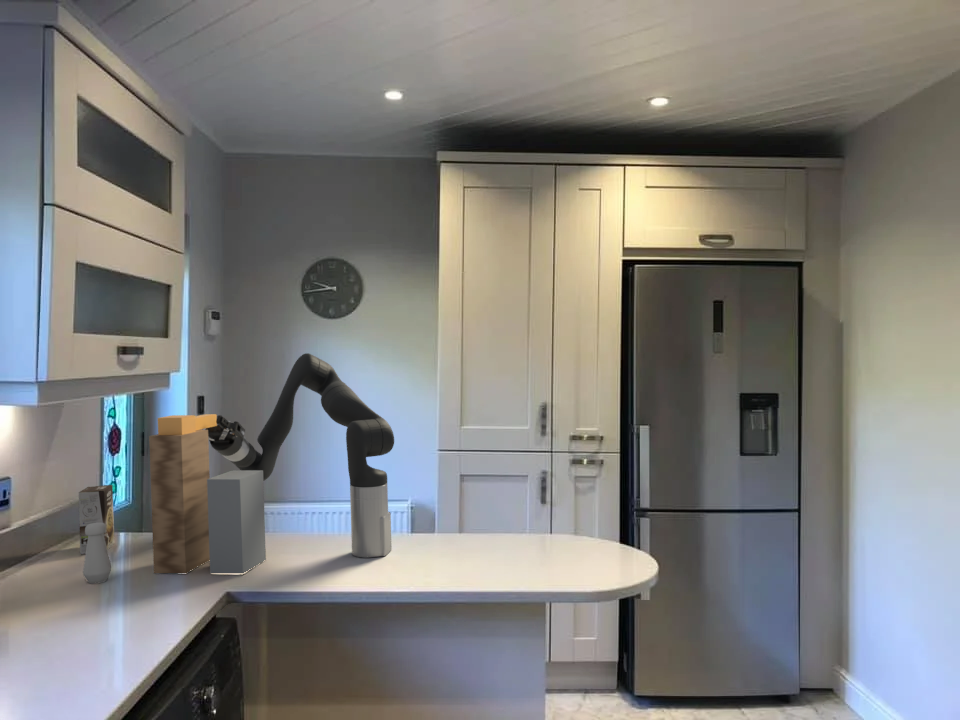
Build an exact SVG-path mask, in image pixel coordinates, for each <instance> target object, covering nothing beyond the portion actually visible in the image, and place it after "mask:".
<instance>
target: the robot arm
mask: <svg viewBox="0 0 960 720" xmlns="http://www.w3.org/2000/svg"><path fill="white" fill-rule="evenodd" d="M300 386H303V387H305V388H306V389H309V390H311V391H313V392H314V393H317V394H319V395H320V396H321V397H320V404H321V407H322V409H323V410H324V412H325V413H326V414H327V415H328V417H329V418H330V419H331V420H333V421H334V422H335V423H336V424H338V425H341V426H343V427H346V433H345V436H346V437H345V442H346V454H347V468H348V469H347V470H348V476H349V477H348V478H349V493H350V496H349V498H350V528H351V529H350V530H351V536H350V537H351V538H350V539H351V554H352V556H354V557H358V558H376V557H386V556H387V555H388V554H389V553H390V552H391V551H392V549H393V548H392V519H391V518H392V515H391V512H389V501H388V499H389V498H388V494H389V491H388V489H389V488H388V474H387V472H386V471H384V470H381V469H379V468H374V467H372V466H370V465H368V460H367V458H370V457H371V458H372V457H379V456H384V455H386V454H388V453H390V452H391V451H392V450H393V448H394V445H395V435H394V434H395V433H394V432H393V429H392V426H391V424H389V423H388V421H387V420H386V419H385V418H384V417H382V416H381V415H379V414H378V413H376V412H375V411H374V410H372V409H371V408H370V407H369V406H368V405H367V404H366V403H365V402H364V401H363V400H362V399H361V398H360V397H359V395H358V394H356V393H355V391H354V390H353V389H352V388H350V387H349V385H347V383H345V382H344V381H342V380H341V378H340V377H339V375H338V373H337V372H336V371H335V369H334V368H333V366H332V365H331V364H329V363H328V362H326V361H324V360H323V359H320V358H319V357H317V356H315V355H314V354H311V353H307V352H306V353H303V354H302V355H300V356H299V357H298V359H296V361H295V362H294V364H293V366H292V368H291V370H290V372H289V375H288V376H287V378H286V381H285V384H284V385H283V387H282V390H281V393H280V395H279V397H278V400H277V402H276V404H275V407H274V409H273V411H272V413H271V414H270V416H269V418H268V420H267V421H266V423H265V425H264V427H263V428H262V429H261V431H260V433H259V434H258V436H257V439H256V440H257V442H258V445H259V446H260V447H261V450H262V453H260V452H259V451H257V450H256V449H255V447H254V446H253V445H252V444H251V443H250V441H248V440H247V438H246V436H245V433H246V428H244V427H243V426H242V424H240V422H238V421H233V422H232V421H231V420H228V419H227V418H225V417H224V416H223V415H221V414H220V415H218V414H217V420H216V423H217V426H214V427H209V428H205V429H200V430H208V442H209V444H210V446H211V448H212V449H214V450H215V451H216V452H217V453H219V455H220V456H222V457H224V459H227V460H229V461H230V462H231V463H232V464H234V465H235V467H236V468H238V469H239V470H263V482H264V481H267V479H268V478H270V476H272V473H273V471H274V468H275V466H276V462H277V458H278V457H279V456H278V455H279V452H280V449H281V447H282V445H283V443H284V441H285V440H286V439H287V436H288V435H289V434H290V431H291V430H292V427H293V423H294V406H295V405H294V404H295V398H296V394H297V392H298V390H299V388H300Z"/></svg>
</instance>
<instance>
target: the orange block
mask: <svg viewBox="0 0 960 720" xmlns="http://www.w3.org/2000/svg"><path fill="white" fill-rule="evenodd" d="M217 416H218V414H216V413H213V414H211V413H210V414H209V413H206V414H200V415H196V414H192V415H191V414H189V415H188V414H187V415H185V414H183V415H181V414H180V415H178V414H177V415H167V416H162V417H157V434H158V435H184V434H188V433H192V432H196V430H200V429H203V430H205V429H206V428H209V427H214V426H217V425H218V424H217V423H216V420H217Z"/></svg>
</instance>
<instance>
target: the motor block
mask: <svg viewBox="0 0 960 720" xmlns="http://www.w3.org/2000/svg"><path fill="white" fill-rule="evenodd" d="M264 488H265V487H264V481H263V470H240V469H239V470H235V469H234V470H230V471H227V472H224V473H221V474H218V475H215V476H212V477H210V478H209V479H207V493H208V524H209V555H210V561H209V574H210V573H244V572H246V571H248V570H249V569H251V568H253V567H254V566H256V565H258V564H259V563H261V562H263V561H264V560H266V561H267V558H266V557H267V555H266V522H265V518H266V517H265V489H264ZM264 562H265V561H264ZM264 562H263V563H264ZM261 564H262V563H261ZM258 566H259V565H258Z"/></svg>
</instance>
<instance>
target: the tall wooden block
mask: <svg viewBox="0 0 960 720" xmlns="http://www.w3.org/2000/svg"><path fill="white" fill-rule="evenodd" d="M148 439H149V466H150V468H149V469H150V473H149V474H150V496H151V497H150V498H151V500H150V501H151V527H152V529H151V530H152V531H151V532H152V557H153V560H152V561H153V574H154V573H187V572H189V571H190V570H192V569H194V568H196V567H197V566H200V565H201V564H203V563H205V562H207V561H208V562H210V561H209V560H210V555H209V524H208V493H207V479H209V478H211V477H210V475H211V474H210V448H209V447H210V445H209V444H210V442H209V439H208V430H205V429H203V430H196V432H192V433H188V434H184V435H158V433H156V434H153V435H149V436H148ZM208 562H207V563H208ZM205 564H206V563H205ZM203 565H204V564H203ZM201 566H202V565H201ZM201 566H200V567H201ZM196 569H197V568H196ZM194 570H195V569H194ZM189 573H190V572H189ZM187 574H188V573H187Z"/></svg>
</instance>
